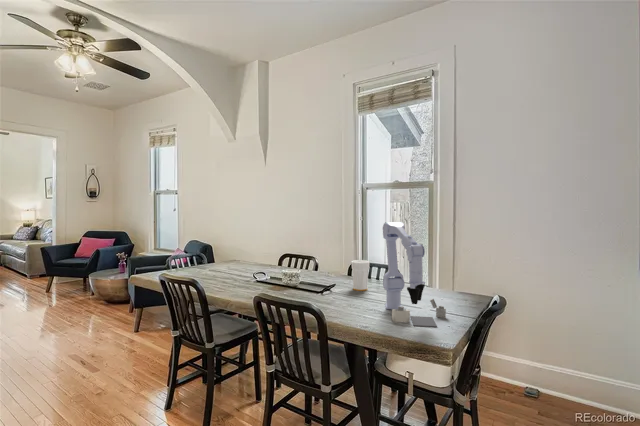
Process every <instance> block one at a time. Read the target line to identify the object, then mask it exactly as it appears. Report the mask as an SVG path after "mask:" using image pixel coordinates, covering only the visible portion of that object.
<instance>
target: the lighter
mask: <svg viewBox="0 0 640 426" xmlns="http://www.w3.org/2000/svg"><path fill="white" fill-rule="evenodd" d="M429 302H430V304H431V306H432V308H433V309H435V316H436V318H442V319H446V317H447V308H446V307H444V306H443V305H438V306H437V303H436V301H435V299H434V298H431V299H429Z"/></svg>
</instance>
